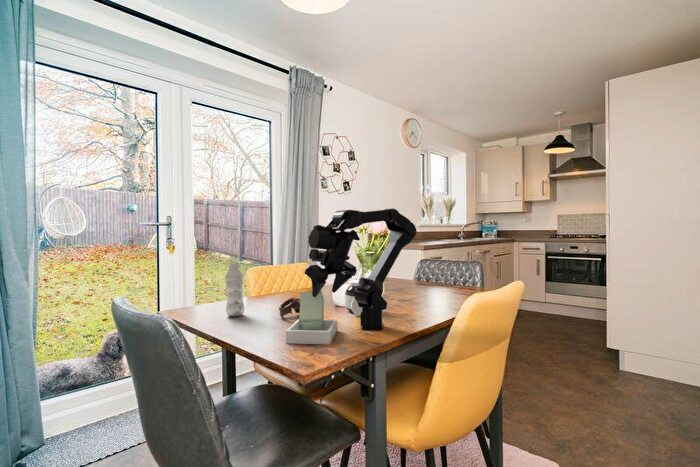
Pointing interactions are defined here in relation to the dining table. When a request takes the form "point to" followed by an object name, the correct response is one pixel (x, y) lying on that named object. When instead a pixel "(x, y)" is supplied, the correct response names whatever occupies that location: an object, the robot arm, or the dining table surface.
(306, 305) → the green crate
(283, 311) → the pottery mug
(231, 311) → the plastic bottle
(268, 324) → the dining table surface
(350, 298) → the spread jar
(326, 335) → the grey crate
